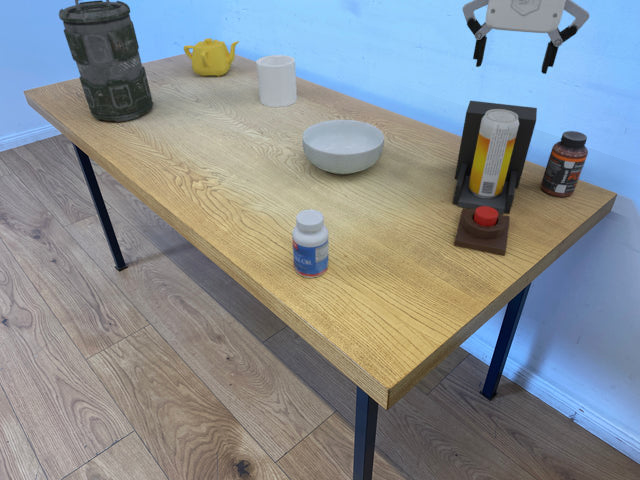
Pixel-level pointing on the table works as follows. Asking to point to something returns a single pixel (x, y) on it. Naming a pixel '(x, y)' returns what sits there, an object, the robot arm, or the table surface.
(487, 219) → the button
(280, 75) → the mug
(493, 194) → the beer can
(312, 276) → the pill bottle
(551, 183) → the supplement bottle
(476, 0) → the robot arm
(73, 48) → the canister
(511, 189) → the dark grey cradle
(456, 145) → the table surface
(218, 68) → the teapot
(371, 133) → the cereal bowl
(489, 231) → the button block
